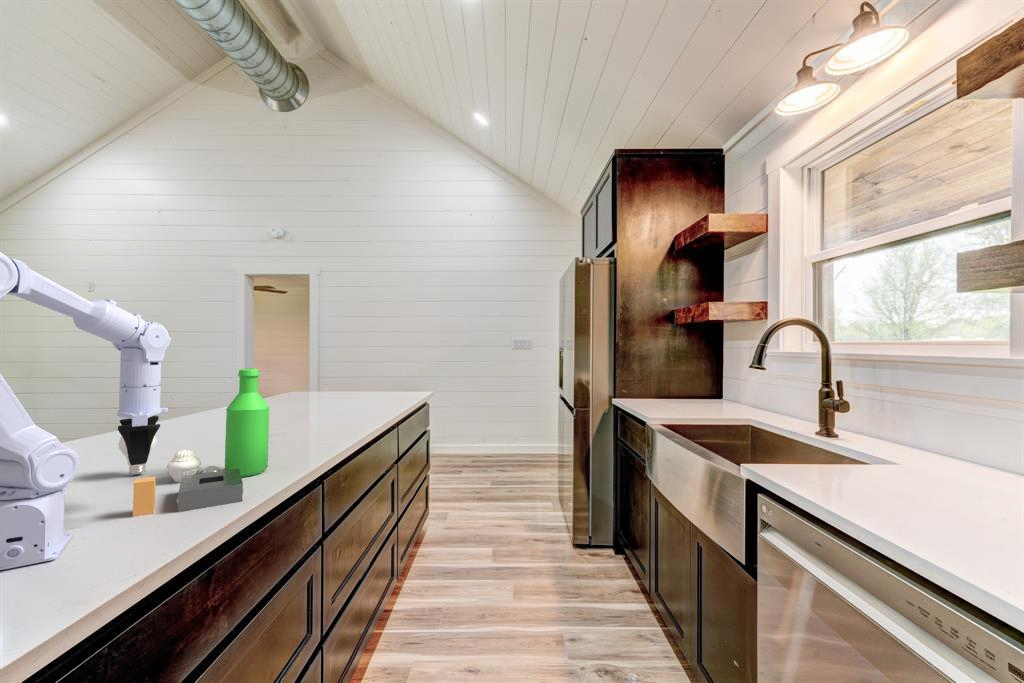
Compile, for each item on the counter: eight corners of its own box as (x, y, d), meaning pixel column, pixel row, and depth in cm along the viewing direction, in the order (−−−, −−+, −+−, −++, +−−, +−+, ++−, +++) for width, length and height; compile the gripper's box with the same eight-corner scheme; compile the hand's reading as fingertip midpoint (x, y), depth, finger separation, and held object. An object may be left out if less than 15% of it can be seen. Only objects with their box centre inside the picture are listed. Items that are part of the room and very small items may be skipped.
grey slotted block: (245, 500, 84) (245, 482, 84) (174, 512, 77) (174, 492, 77) (240, 478, 97) (240, 462, 97) (179, 486, 91) (180, 469, 91)
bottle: (216, 474, 100) (219, 369, 100) (253, 465, 107) (256, 367, 108) (238, 480, 96) (241, 370, 96) (275, 470, 103) (277, 369, 104)
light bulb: (124, 472, 100) (125, 426, 100) (159, 469, 103) (161, 424, 103) (112, 481, 94) (113, 431, 94) (150, 477, 97) (151, 429, 97)
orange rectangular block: (153, 513, 77) (154, 480, 77) (132, 517, 75) (133, 483, 75) (154, 508, 79) (155, 476, 79) (134, 511, 77) (135, 479, 77)
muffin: (180, 485, 92) (181, 453, 92) (159, 482, 93) (159, 451, 93) (207, 477, 98) (208, 447, 98) (187, 474, 99) (188, 445, 99)
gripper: (170, 388, 75) (168, 464, 75) (166, 382, 86) (164, 448, 86) (116, 390, 70) (114, 471, 70) (119, 383, 81) (117, 454, 81)
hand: (138, 459), depth 78 cm, fingers open, 7 cm apart
